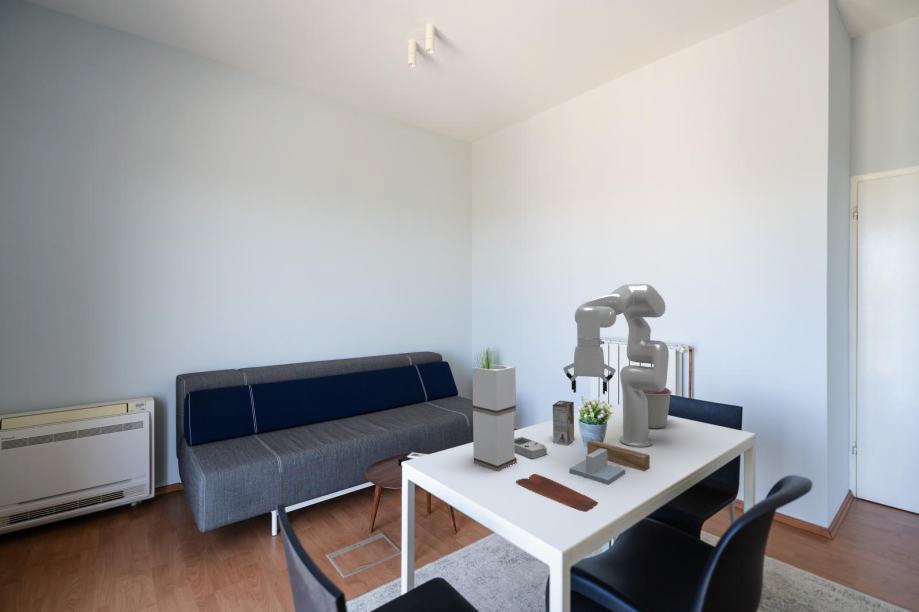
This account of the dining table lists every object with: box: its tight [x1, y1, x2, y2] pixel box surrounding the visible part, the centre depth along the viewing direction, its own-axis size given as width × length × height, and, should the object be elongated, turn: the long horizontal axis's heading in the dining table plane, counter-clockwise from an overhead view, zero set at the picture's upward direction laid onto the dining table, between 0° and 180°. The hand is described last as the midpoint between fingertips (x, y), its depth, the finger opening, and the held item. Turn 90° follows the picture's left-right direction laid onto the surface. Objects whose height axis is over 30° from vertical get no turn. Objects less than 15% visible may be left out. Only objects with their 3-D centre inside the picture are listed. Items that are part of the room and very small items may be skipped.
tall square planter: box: [471, 363, 518, 472], centre depth 156 cm, size 11×11×35 cm
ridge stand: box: [568, 448, 626, 486], centre depth 146 cm, size 12×14×7 cm
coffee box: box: [552, 400, 575, 446], centre depth 179 cm, size 9×6×16 cm
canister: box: [642, 387, 673, 429], centre depth 200 cm, size 18×18×21 cm
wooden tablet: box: [515, 473, 599, 512], centre depth 132 cm, size 27×10×2 cm, turn 38°
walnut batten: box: [586, 439, 651, 472], centre depth 156 cm, size 4×22×5 cm, turn 42°
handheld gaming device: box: [514, 436, 548, 460], centre depth 168 cm, size 9×15×4 cm, turn 36°
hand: (589, 392), depth 148 cm, fingers open, 9 cm apart
